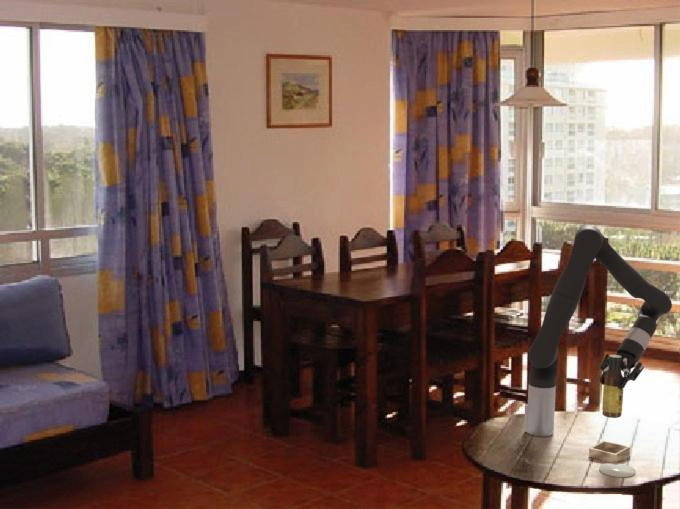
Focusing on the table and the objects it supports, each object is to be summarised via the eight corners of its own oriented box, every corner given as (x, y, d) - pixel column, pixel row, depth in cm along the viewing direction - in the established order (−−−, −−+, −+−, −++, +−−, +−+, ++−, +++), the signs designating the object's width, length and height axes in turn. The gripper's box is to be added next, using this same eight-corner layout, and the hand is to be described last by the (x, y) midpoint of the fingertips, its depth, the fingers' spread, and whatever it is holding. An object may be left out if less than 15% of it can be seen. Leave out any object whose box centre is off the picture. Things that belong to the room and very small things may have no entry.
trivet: (593, 471, 330) (593, 469, 330) (608, 462, 339) (608, 460, 339) (625, 480, 323) (626, 478, 323) (641, 470, 332) (641, 468, 332)
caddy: (588, 457, 343) (589, 448, 343) (603, 449, 351) (603, 440, 351) (615, 463, 337) (616, 454, 337) (629, 455, 345) (630, 446, 345)
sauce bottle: (622, 419, 339) (626, 359, 335) (602, 418, 340) (606, 358, 337) (621, 413, 345) (624, 354, 342) (601, 411, 346) (605, 353, 343)
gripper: (611, 333, 349) (587, 374, 343) (649, 342, 338) (624, 384, 332) (620, 347, 353) (596, 387, 347) (657, 356, 342) (633, 397, 336)
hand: (610, 385), depth 340 cm, fingers closed on sauce bottle, 6 cm apart
